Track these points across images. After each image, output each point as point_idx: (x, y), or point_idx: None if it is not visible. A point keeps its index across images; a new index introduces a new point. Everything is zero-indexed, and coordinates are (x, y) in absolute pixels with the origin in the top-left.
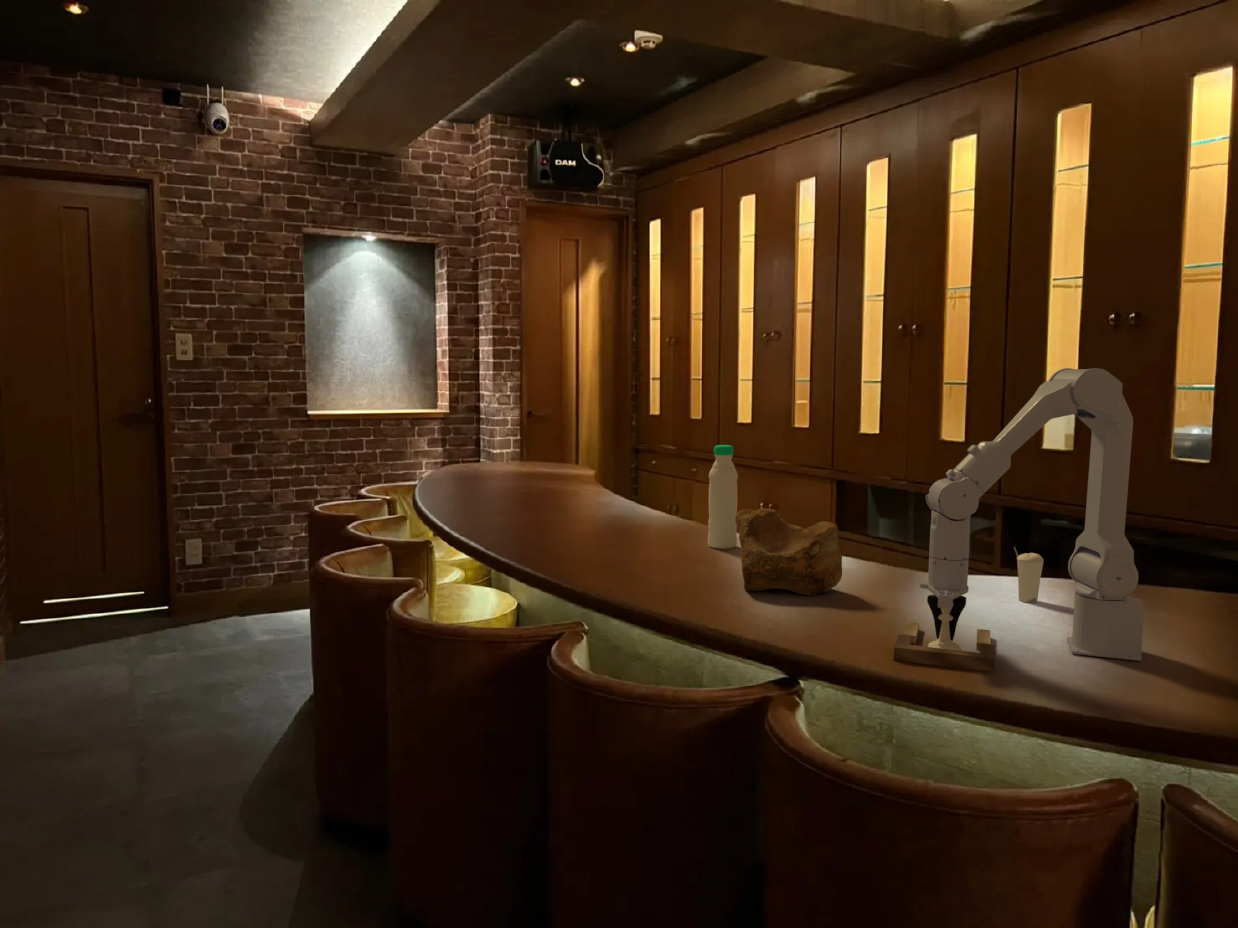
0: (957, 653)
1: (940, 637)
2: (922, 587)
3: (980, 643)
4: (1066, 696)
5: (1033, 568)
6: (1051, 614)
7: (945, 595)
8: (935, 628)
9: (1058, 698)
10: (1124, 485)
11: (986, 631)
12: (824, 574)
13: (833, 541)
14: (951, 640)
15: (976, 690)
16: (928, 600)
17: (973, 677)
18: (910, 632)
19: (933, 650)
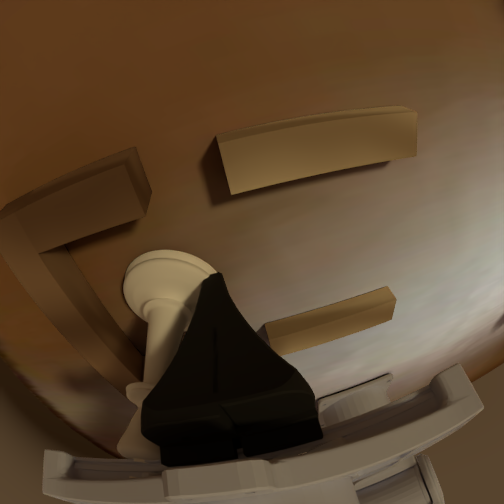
0: (90, 359)
1: (149, 322)
2: (162, 476)
3: None
4: (117, 424)
5: None
6: (500, 308)
7: (61, 499)
8: (194, 310)
9: (101, 421)
10: None
11: (379, 319)
12: None
13: None
14: (186, 329)
15: (26, 368)
16: (145, 422)
17: (70, 359)
18: (271, 160)
19: (57, 319)
